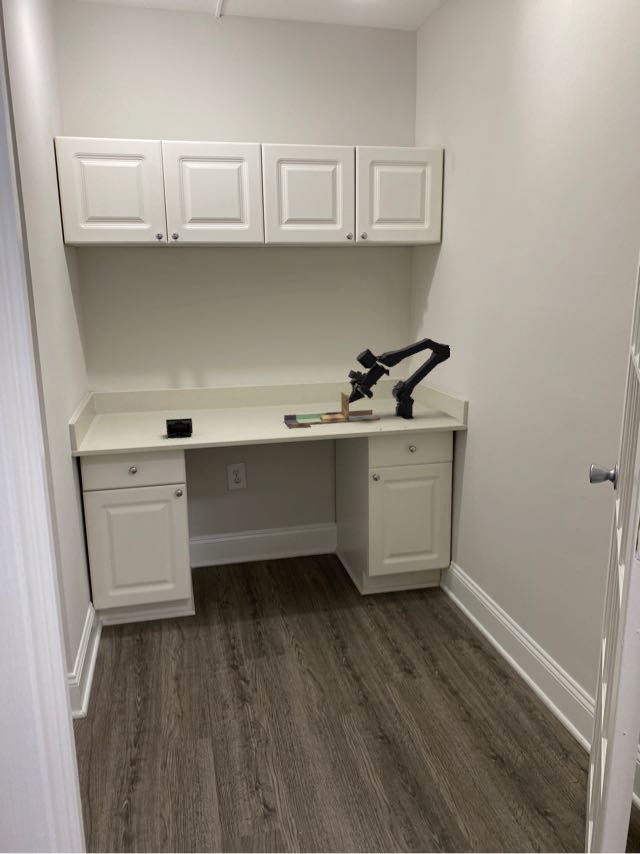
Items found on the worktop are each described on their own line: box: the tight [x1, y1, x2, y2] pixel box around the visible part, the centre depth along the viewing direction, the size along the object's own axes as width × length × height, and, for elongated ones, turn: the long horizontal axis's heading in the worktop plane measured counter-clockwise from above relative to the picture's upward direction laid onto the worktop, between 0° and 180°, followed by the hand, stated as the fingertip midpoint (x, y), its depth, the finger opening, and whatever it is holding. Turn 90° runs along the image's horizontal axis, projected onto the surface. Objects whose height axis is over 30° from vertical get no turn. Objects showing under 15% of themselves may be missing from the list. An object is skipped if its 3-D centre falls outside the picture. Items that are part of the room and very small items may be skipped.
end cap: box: [165, 417, 194, 439], centre depth 262 cm, size 10×7×7 cm
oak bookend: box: [320, 391, 350, 421], centre depth 280 cm, size 11×7×11 cm, turn 103°
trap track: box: [283, 409, 377, 429], centre depth 282 cm, size 39×11×3 cm, turn 102°
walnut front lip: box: [288, 417, 381, 429], centre depth 276 cm, size 39×1×2 cm, turn 102°
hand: (347, 403), depth 281 cm, fingers closed
